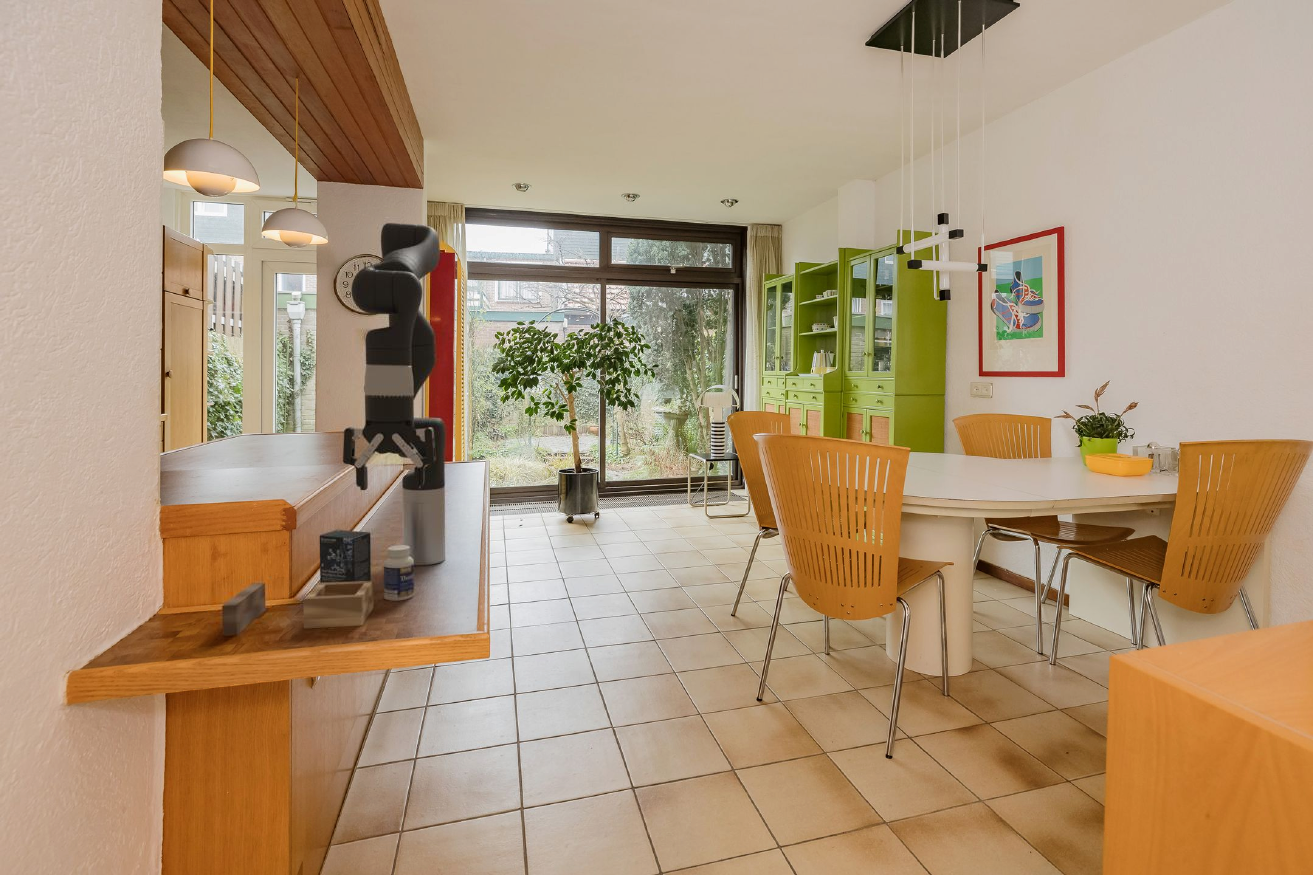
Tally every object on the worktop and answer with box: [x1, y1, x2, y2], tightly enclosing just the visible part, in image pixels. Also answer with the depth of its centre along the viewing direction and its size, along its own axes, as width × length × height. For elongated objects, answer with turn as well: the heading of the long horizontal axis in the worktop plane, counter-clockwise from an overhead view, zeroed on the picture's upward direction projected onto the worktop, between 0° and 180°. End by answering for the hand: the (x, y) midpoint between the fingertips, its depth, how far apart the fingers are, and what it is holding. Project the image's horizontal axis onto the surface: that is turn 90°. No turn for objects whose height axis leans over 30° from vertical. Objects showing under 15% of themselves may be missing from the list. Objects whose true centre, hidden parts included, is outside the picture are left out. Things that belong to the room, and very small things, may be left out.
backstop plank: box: [221, 582, 267, 637], centre depth 110 cm, size 12×2×5 cm, turn 12°
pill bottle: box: [383, 544, 415, 602], centre depth 124 cm, size 5×5×10 cm
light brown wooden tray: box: [302, 580, 375, 629], centre depth 113 cm, size 9×9×5 cm
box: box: [318, 529, 372, 583], centre depth 131 cm, size 8×6×11 cm
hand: (390, 489), depth 109 cm, fingers open, 8 cm apart
